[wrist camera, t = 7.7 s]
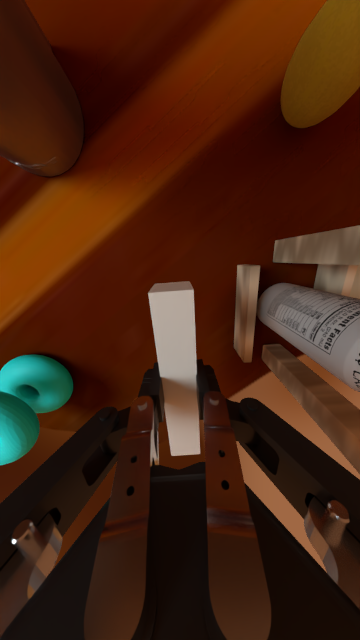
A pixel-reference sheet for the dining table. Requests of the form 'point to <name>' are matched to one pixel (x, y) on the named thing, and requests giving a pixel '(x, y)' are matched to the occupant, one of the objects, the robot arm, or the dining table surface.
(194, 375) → the bar
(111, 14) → the dining table surface
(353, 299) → the energy drink can
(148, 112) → the dining table surface
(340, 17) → the lemon
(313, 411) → the cradle
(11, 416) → the donuts
